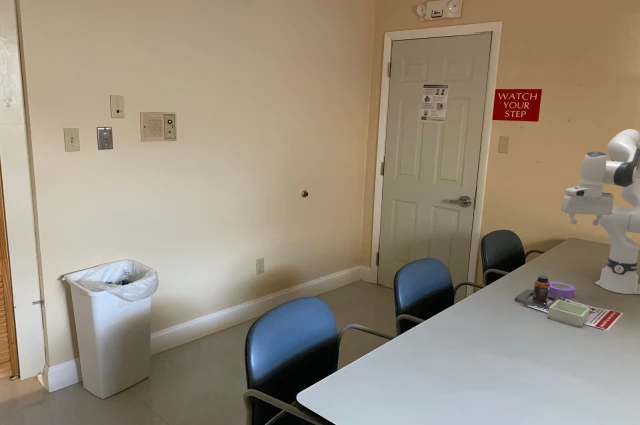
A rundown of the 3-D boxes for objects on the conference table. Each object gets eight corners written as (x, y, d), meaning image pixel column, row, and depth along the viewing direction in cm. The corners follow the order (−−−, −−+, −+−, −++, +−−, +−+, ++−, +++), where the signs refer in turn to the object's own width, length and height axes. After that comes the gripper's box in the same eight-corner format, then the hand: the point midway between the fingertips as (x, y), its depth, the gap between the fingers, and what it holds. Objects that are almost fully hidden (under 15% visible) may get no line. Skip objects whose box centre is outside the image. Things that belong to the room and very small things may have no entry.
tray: (556, 309, 201) (558, 299, 200) (588, 318, 193) (590, 308, 192) (547, 317, 192) (549, 307, 191) (580, 327, 184) (582, 316, 183)
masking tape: (546, 295, 217) (547, 287, 216) (544, 287, 228) (546, 279, 227) (575, 300, 213) (576, 292, 212) (572, 291, 224) (573, 283, 223)
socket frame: (527, 291, 220) (527, 288, 220) (564, 302, 210) (565, 298, 209) (514, 301, 208) (514, 297, 208) (553, 312, 198) (554, 308, 198)
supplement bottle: (550, 303, 207) (554, 278, 205) (538, 304, 205) (542, 279, 203) (540, 298, 213) (544, 274, 210) (529, 299, 211) (532, 274, 209)
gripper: (609, 191, 202) (603, 224, 204) (561, 189, 201) (556, 221, 203) (619, 194, 196) (613, 227, 198) (570, 191, 195) (564, 224, 197)
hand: (584, 224), depth 201 cm, fingers open, 8 cm apart
